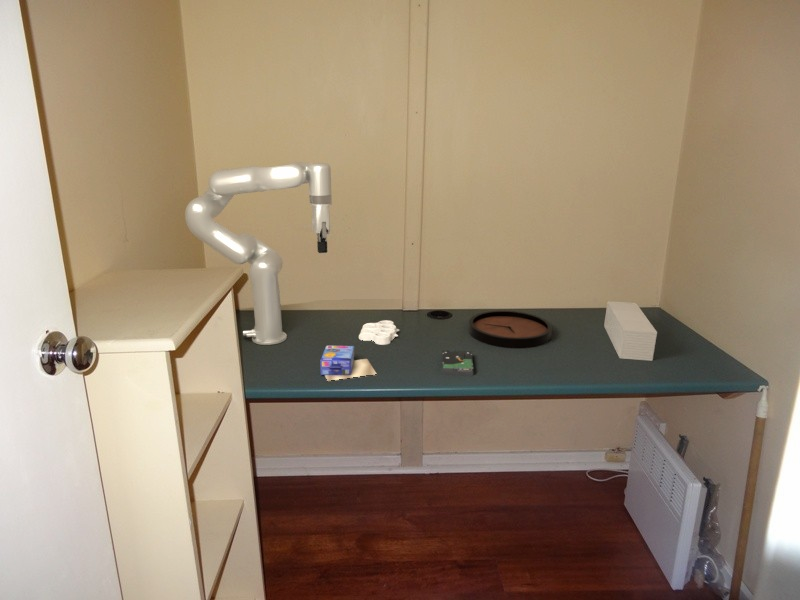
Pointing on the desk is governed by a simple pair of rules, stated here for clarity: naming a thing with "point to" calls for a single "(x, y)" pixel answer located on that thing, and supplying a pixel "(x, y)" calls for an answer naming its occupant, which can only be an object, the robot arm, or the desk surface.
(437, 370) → the desk surface
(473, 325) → the wall clock
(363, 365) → the board
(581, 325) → the desk surface
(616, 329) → the stack of papers
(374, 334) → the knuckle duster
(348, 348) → the ink cartridge box
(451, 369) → the disk drive
